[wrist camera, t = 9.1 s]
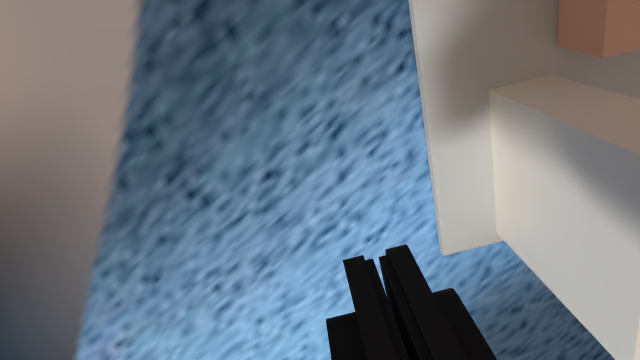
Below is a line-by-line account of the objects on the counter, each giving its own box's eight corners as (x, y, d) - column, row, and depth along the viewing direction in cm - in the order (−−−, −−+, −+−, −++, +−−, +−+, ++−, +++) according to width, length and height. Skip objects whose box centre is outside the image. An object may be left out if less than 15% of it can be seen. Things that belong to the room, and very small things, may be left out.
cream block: (553, 218, 17) (724, 354, 10) (496, 232, 17) (631, 376, 10) (556, 73, 14) (783, 133, 8) (489, 89, 14) (660, 163, 8)
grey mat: (762, 170, 17) (773, 174, 17) (439, 250, 17) (443, 255, 17) (877, -278, 11) (897, -287, 11) (389, -153, 11) (392, -158, 11)
